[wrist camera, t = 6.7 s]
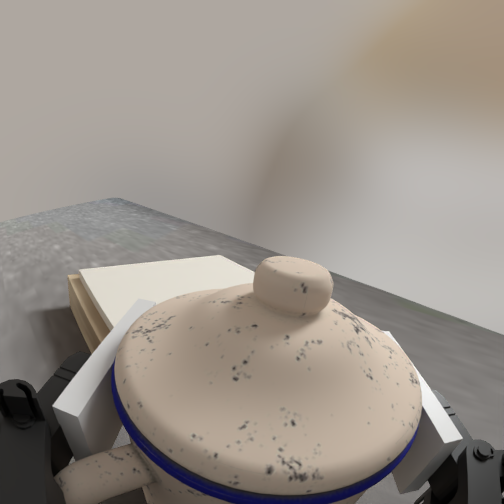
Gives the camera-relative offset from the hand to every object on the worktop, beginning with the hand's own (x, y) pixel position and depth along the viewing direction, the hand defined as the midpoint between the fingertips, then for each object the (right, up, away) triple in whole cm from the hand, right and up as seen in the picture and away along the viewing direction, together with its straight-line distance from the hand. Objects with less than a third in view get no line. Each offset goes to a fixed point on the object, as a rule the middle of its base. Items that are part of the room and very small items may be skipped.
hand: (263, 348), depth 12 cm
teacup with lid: (-2, -8, -2) cm, 8 cm away
